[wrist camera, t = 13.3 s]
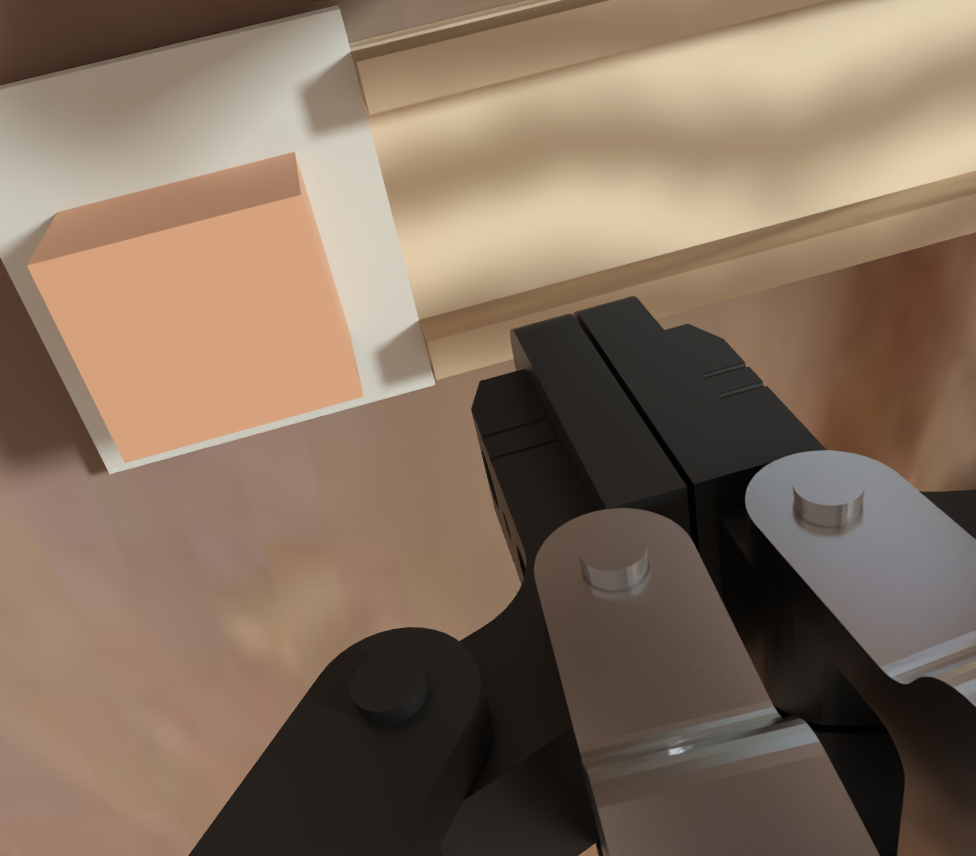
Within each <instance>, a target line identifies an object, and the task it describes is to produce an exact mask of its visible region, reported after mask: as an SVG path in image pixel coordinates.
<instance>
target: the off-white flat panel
mask: <svg viewBox="0 0 976 856" xmlns="http://www.w3.org/2000/svg"><path fill="white" fill-rule="evenodd" d="M291 152H295V154H296V157H297V161H298V164H299V167H300V170H301V174H302V177H303V180H304V184H305V187H306V190H307V193H308V197H309V200H310V203H311V206H312V210H313V213H314V216H315V219H316V223H317V226H318V229H319V233H320V236H321V239H322V242H323V246H324V249H325V252H326V255H327V259H328V262H329V265H330V268H331V272H332V275H333V278H334V282H335V285H336V288H337V291H338V295H339V298H340V301H341V304H342V308H343V311H344V314H345V318H346V321H347V324H348V327H349V331H350V334H351V339H352V343H353V348H354V353H355V358H356V362H357V367H358V372H359V377H360V381H361V386H362V391H363V396H364V397H361V398H357V399H354V400H350V401H346V402H343V403H339V404H336V405H332V406H328V407H325V408H321V409H318V410H314V411H311V412H307V413H303V414H300V415H296V416H293V417H289V418H285V419H282V420H278V421H275V422H271V423H267V424H264V425H260V426H257V427H253V428H249V429H246V430H242V431H239V432H235V433H231V434H228V435H224V436H221V437H217V438H213V439H210V440H206V441H203V442H199V443H195V444H192V445H188V446H185V447H181V448H177V449H174V450H170V451H167V452H163V453H159V454H156V455H152V456H149V457H145V458H141V459H138V460H134V461H131V462H127V463H124V461H123V458H122V456H121V454H120V452H119V450H118V448H117V446H116V444H115V442H114V440H113V438H112V436H111V434H110V432H109V430H108V428H107V426H106V424H105V422H104V420H103V418H102V416H101V414H100V412H99V410H98V408H97V406H96V404H95V402H94V400H93V398H92V396H91V394H90V392H89V390H88V388H87V386H86V384H85V382H84V380H83V378H82V376H81V374H80V372H79V370H78V368H77V366H76V364H75V362H74V360H73V358H72V356H71V354H70V352H69V350H68V348H67V346H66V344H65V342H64V340H63V338H62V336H61V334H60V332H59V330H58V328H57V326H56V323H55V321H54V319H53V317H52V315H51V313H50V311H49V309H48V307H47V305H46V303H45V301H44V299H43V297H42V295H41V293H40V291H39V289H38V287H37V285H36V283H35V281H34V279H33V277H32V275H31V273H30V271H29V269H28V267H27V265H28V263H29V261H30V259H31V258H32V256H33V254H34V252H35V251H36V249H37V247H38V245H39V244H40V242H41V240H42V238H43V237H44V235H45V233H46V232H47V230H48V228H49V226H50V225H51V223H52V221H53V219H54V218H55V216H56V214H57V212H60V211H64V210H67V209H71V208H75V207H79V206H83V205H87V204H91V203H95V202H99V201H103V200H107V199H111V198H115V197H118V196H122V195H126V194H130V193H134V192H138V191H142V190H146V189H150V188H154V187H158V186H162V185H165V184H169V183H173V182H177V181H181V180H185V179H189V178H193V177H197V176H201V175H205V174H209V173H213V172H216V171H220V170H224V169H228V168H232V167H236V166H240V165H244V164H248V163H252V162H256V161H260V160H264V159H267V158H271V157H275V156H279V155H283V154H287V153H291ZM0 258H1V260H2V262H3V264H4V266H5V268H6V270H7V272H8V274H9V276H10V278H11V280H12V282H13V284H14V286H15V288H16V290H17V292H18V294H19V296H20V298H21V300H22V302H23V303H24V305H25V307H26V309H27V311H28V313H29V315H30V317H31V319H32V321H33V323H34V325H35V327H36V329H37V331H38V333H39V335H40V337H41V339H42V341H43V343H44V345H45V347H46V349H47V351H48V353H49V355H50V357H51V359H52V361H53V363H54V365H55V367H56V369H57V371H58V373H59V375H60V377H61V379H62V381H63V383H64V385H65V387H66V389H67V391H68V393H69V395H70V397H71V399H72V401H73V402H74V404H75V406H76V408H77V410H78V412H79V414H80V416H81V418H82V420H83V422H84V424H85V426H86V428H87V430H88V432H89V434H90V436H91V438H92V440H93V442H94V444H95V446H96V448H97V450H98V452H99V454H100V456H101V458H102V460H103V462H104V464H105V466H106V468H107V470H108V472H109V474H112V473H116V472H119V471H123V470H127V469H130V468H134V467H138V466H141V465H145V464H149V463H152V462H156V461H160V460H163V459H167V458H170V457H174V456H178V455H181V454H185V453H189V452H192V451H196V450H200V449H203V448H207V447H211V446H214V445H218V444H221V443H225V442H229V441H232V440H236V439H240V438H243V437H247V436H251V435H254V434H258V433H262V432H265V431H269V430H272V429H276V428H280V427H283V426H287V425H291V424H294V423H298V422H302V421H305V420H309V419H312V418H316V417H320V416H323V415H327V414H331V413H334V412H338V411H342V410H345V409H349V408H353V407H356V406H360V405H363V404H367V403H371V402H374V401H378V400H382V399H385V398H389V397H393V396H396V395H400V394H404V393H407V392H411V391H414V390H418V389H422V388H425V387H429V386H433V385H435V381H434V377H433V374H432V370H431V366H430V362H429V358H428V354H427V350H426V346H425V342H424V338H423V334H422V330H421V326H420V322H419V318H418V314H417V310H416V307H415V303H414V299H413V295H412V291H411V287H410V283H409V279H408V275H407V271H406V267H405V263H404V259H403V255H402V251H401V247H400V243H399V240H398V236H397V232H396V228H395V224H394V220H393V216H392V212H391V208H390V204H389V200H388V196H387V192H386V188H385V184H384V180H383V176H382V173H381V169H380V165H379V161H378V157H377V153H376V149H375V145H374V141H373V137H372V133H371V129H370V125H369V121H368V117H367V113H366V109H365V106H364V102H363V98H362V94H361V90H360V86H359V82H358V78H357V74H356V70H355V66H354V62H353V58H352V54H351V50H350V46H349V43H348V39H347V35H346V31H345V27H344V23H343V19H342V15H341V11H340V8H339V7H338V5H335V6H331V7H327V8H323V9H319V10H314V11H310V12H306V13H302V14H298V15H293V16H289V17H285V18H281V19H277V20H272V21H268V22H264V23H260V24H256V25H251V26H247V27H243V28H239V29H235V30H231V31H226V32H222V33H218V34H214V35H210V36H205V37H201V38H197V39H193V40H189V41H184V42H180V43H176V44H172V45H168V46H163V47H159V48H155V49H151V50H147V51H142V52H138V53H134V54H130V55H126V56H121V57H117V58H113V59H109V60H105V61H100V62H96V63H92V64H88V65H84V66H79V67H75V68H71V69H67V70H63V71H58V72H54V73H50V74H46V75H42V76H37V77H33V78H29V79H25V80H21V81H16V82H12V83H8V84H4V85H0Z"/></svg>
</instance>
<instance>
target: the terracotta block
mask: <svg viewBox="0 0 976 856" xmlns="http://www.w3.org/2000/svg"><path fill="white" fill-rule="evenodd" d="M27 267H28V269H29V271H30V273H31V275H32V277H33V279H34V281H35V283H36V285H37V287H38V289H39V291H40V293H41V295H42V297H43V299H44V301H45V303H46V305H47V307H48V309H49V311H50V313H51V315H52V317H53V319H54V321H55V323H56V326H57V328H58V330H59V332H60V334H61V336H62V338H63V340H64V342H65V344H66V346H67V348H68V350H69V352H70V354H71V356H72V358H73V360H74V362H75V364H76V366H77V368H78V370H79V372H80V374H81V376H82V378H83V380H84V382H85V384H86V386H87V388H88V390H89V392H90V394H91V396H92V398H93V400H94V402H95V404H96V406H97V408H98V410H99V412H100V414H101V416H102V418H103V420H104V422H105V424H106V426H107V428H108V430H109V432H110V434H111V436H112V438H113V440H114V442H115V444H116V446H117V448H118V450H119V452H120V454H121V456H122V458H123V461H124V463H127V462H131V461H134V460H138V459H141V458H145V457H149V456H152V455H156V454H159V453H163V452H167V451H170V450H174V449H177V448H181V447H185V446H188V445H192V444H195V443H199V442H203V441H206V440H210V439H213V438H217V437H221V436H224V435H228V434H231V433H235V432H239V431H242V430H246V429H249V428H253V427H257V426H260V425H264V424H267V423H271V422H275V421H278V420H282V419H285V418H289V417H293V416H296V415H300V414H303V413H307V412H311V411H314V410H318V409H321V408H325V407H328V406H332V405H336V404H339V403H343V402H346V401H350V400H354V399H357V398H361V397H364V396H363V391H362V386H361V381H360V377H359V372H358V367H357V362H356V358H355V353H354V348H353V343H352V339H351V334H350V331H349V327H348V324H347V321H346V318H345V314H344V311H343V308H342V304H341V301H340V298H339V295H338V291H337V288H336V285H335V282H334V278H333V275H332V272H331V268H330V265H329V262H328V259H327V255H326V252H325V249H324V246H323V242H322V239H321V236H320V233H319V229H318V226H317V223H316V219H315V216H314V213H313V210H312V206H311V203H310V200H309V197H308V193H307V190H306V187H305V184H304V180H303V177H302V174H301V170H300V167H299V164H298V161H297V157H296V154H295V152H291V153H287V154H283V155H279V156H275V157H271V158H267V159H264V160H260V161H256V162H252V163H248V164H244V165H240V166H236V167H232V168H228V169H224V170H220V171H216V172H213V173H209V174H205V175H201V176H197V177H193V178H189V179H185V180H181V181H177V182H173V183H169V184H165V185H162V186H158V187H154V188H150V189H146V190H142V191H138V192H134V193H130V194H126V195H122V196H118V197H115V198H111V199H107V200H103V201H99V202H95V203H91V204H87V205H83V206H79V207H75V208H71V209H67V210H64V211H60V212H57V214H56V216H55V218H54V219H53V221H52V223H51V225H50V226H49V228H48V230H47V232H46V233H45V235H44V237H43V238H42V240H41V242H40V244H39V245H38V247H37V249H36V251H35V252H34V254H33V256H32V258H31V259H30V261H29V263H28V265H27Z"/></svg>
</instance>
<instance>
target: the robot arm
mask: <svg viewBox="0 0 976 856" xmlns="http://www.w3.org/2000/svg"><path fill="white" fill-rule="evenodd" d="M510 339H511V346H512V352H513V357H514V362H515V367H516V371H515V372H511V373H508V374H504V375H501V376H497V377H493V378H490V379H486V380H482V381H480V382H479V386H478V389H477V392H476V395H475V398H474V402H473V405H472V408H471V411H472V415H473V419H474V423H475V428H476V432H477V436H478V440H479V445H480V449H481V453H482V457H483V461H484V466H485V470H486V474H487V478H488V483H489V487H490V491H491V495H492V499H493V504H494V508H495V511H496V514H497V517H498V520H499V523H500V525H501V528H502V531H503V534H504V537H505V539H506V541H507V545H508V548H509V551H510V553H511V556H512V559H513V562H514V563H515V567H516V570H517V573H518V576H519V579H520V581H521V584H522V585H521V588H520V590H519V591H518V593H517V595H516V596H515V598H514V599H513V601H512V602H511V603H510V604H509V605H508V607H507V608H506V609H505V610H504V611H503V612H502V613H501V614H499V615H498V616H497V617H496V618H495V619H494V620H492V621H491V622H489V623H488V624H486V625H485V626H484V627H482V628H481V629H479V630H477V631H476V632H474V633H472V634H471V635H469V636H467V637H466V638H464V639H462V640H461V641H458V640H457V639H455V638H453V637H451V636H450V635H448V634H446V633H443V632H440V631H437V630H433V629H427V628H414V627H407V628H398V629H392V630H388V631H384V632H380V633H377V634H375V635H372V636H369V637H367V638H365V639H363V640H361V641H359V642H357V643H355V644H353V645H352V646H350V647H349V648H347V649H346V650H345V651H343V652H342V653H340V654H339V655H338V656H337V657H336V658H335V659H334V660H333V661H332V662H330V663H329V665H328V666H327V667H326V668H325V669H324V670H323V672H322V673H321V674H320V675H319V677H318V678H317V679H316V681H315V682H314V684H313V685H312V686H311V688H310V689H309V690H308V692H307V693H306V695H305V696H304V697H303V699H302V700H301V701H300V703H299V704H298V706H297V707H296V708H295V710H294V711H293V712H292V714H291V715H290V717H289V718H288V719H287V721H286V722H285V724H284V725H283V726H282V728H281V729H280V730H279V732H278V733H277V735H276V736H275V737H274V739H273V740H272V741H271V743H270V744H269V746H268V747H267V748H266V750H265V751H264V752H263V754H262V755H261V757H260V758H259V759H258V761H257V762H256V763H255V765H254V766H253V768H252V769H251V770H250V772H249V773H248V774H247V776H246V777H245V779H244V780H243V781H242V783H241V784H240V785H239V787H238V788H237V790H236V791H235V792H234V794H233V795H232V796H231V798H230V799H229V801H228V802H227V803H226V805H225V806H224V807H223V809H222V810H221V812H220V813H219V814H218V816H217V817H216V818H215V820H214V821H213V823H212V824H211V825H210V827H209V828H208V829H207V831H206V832H205V834H204V835H203V836H202V838H201V839H200V840H199V842H198V843H197V845H196V846H195V847H194V849H193V850H192V851H191V853H190V854H189V856H578V855H580V854H581V853H582V852H584V851H585V850H586V849H588V848H589V847H591V846H592V845H593V844H595V847H596V851H597V855H598V856H976V490H965V491H946V492H922V491H918V490H917V489H916V488H914V487H913V486H912V485H911V484H910V483H909V482H907V481H906V480H905V479H904V478H903V477H902V476H900V475H899V474H898V473H897V472H895V471H894V470H892V469H891V468H890V467H888V466H886V465H884V464H882V463H880V462H878V461H876V460H873V459H871V458H868V457H865V456H862V455H858V454H854V453H848V452H841V451H827V450H826V449H825V448H824V447H823V446H822V445H821V443H820V442H819V441H818V440H817V439H816V438H815V437H814V436H813V435H812V434H811V433H810V432H809V431H808V429H807V428H806V427H805V426H804V425H803V424H802V423H801V422H800V421H799V420H798V419H797V418H796V417H795V415H794V414H793V413H792V412H791V411H790V410H789V409H788V408H787V407H786V406H785V405H784V404H783V403H782V401H781V400H780V399H779V398H778V397H777V396H776V395H775V394H774V393H773V392H772V391H771V390H770V389H769V388H768V386H766V387H764V385H763V381H762V380H761V379H760V378H759V377H758V376H757V375H756V374H755V372H754V371H753V370H752V369H751V368H750V367H746V365H745V362H744V361H743V360H742V358H741V357H740V356H739V355H738V354H737V353H736V352H735V351H734V350H733V349H732V348H731V347H730V346H729V344H728V343H727V342H726V341H725V340H724V339H722V338H720V337H718V336H715V335H713V334H711V333H708V332H706V331H704V330H701V329H699V328H697V327H694V326H692V325H690V324H685V325H682V326H678V327H674V328H671V329H667V330H664V329H663V328H662V327H661V326H660V324H659V323H658V322H657V321H656V320H655V318H654V317H653V316H652V315H651V314H650V312H649V311H648V310H647V309H646V308H645V306H644V305H643V304H642V303H641V302H640V300H639V299H638V298H637V297H635V296H631V297H627V298H623V299H620V300H616V301H612V302H609V303H605V304H601V305H598V306H594V307H590V308H587V309H583V310H579V311H575V312H574V313H573V315H572V314H571V313H569V314H565V315H562V316H558V317H554V318H550V319H547V320H543V321H539V322H536V323H532V324H528V325H525V326H521V327H517V328H514V329H511V330H510Z"/></svg>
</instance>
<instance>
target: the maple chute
mask: <svg viewBox="0 0 976 856" xmlns="http://www.w3.org/2000/svg"><path fill="white" fill-rule="evenodd" d="M349 46H350V50H351V54H352V58H353V62H354V66H355V70H356V74H357V78H358V82H359V86H360V90H361V94H362V98H363V102H364V106H365V109H366V113H367V117H368V121H369V125H370V129H371V133H372V137H373V141H374V145H375V149H376V153H377V157H378V161H379V165H380V169H381V173H382V176H383V180H384V184H385V188H386V192H387V196H388V200H389V204H390V208H391V212H392V216H393V220H394V224H395V228H396V232H397V236H398V240H399V243H400V247H401V251H402V255H403V259H404V263H405V267H406V271H407V275H408V279H409V283H410V287H411V291H412V295H413V299H414V303H415V307H416V310H417V314H418V318H419V322H420V326H421V330H422V334H423V338H424V342H425V346H426V350H427V354H428V358H429V360H430V363H431V366H432V368H433V371H434V374H435V377H436V380H438V379H442V378H445V377H449V376H453V375H456V374H460V373H464V372H467V371H471V370H475V369H478V368H482V367H485V366H489V365H493V364H496V363H500V362H504V361H507V360H511V359H514V357H513V352H512V346H511V339H510V330H511V329H514V328H517V327H521V326H525V325H528V324H532V323H536V322H539V321H543V320H547V319H550V318H554V317H558V316H562V315H565V314H569V313H571V314H572V315H573V313H574V312H575V311H579V310H583V309H587V308H590V307H594V306H598V305H601V304H605V303H609V302H612V301H616V300H620V299H623V298H627V297H631V296H635V297H637V298H638V299H639V300H640V302H641V303H642V304H643V305H644V306H645V308H646V309H647V310H648V311H649V312H650V314H651V315H652V316H653V317H654V318H655V320H657V319H661V318H664V317H668V316H671V315H675V314H679V313H682V312H686V311H690V310H693V309H697V308H701V307H704V306H708V305H712V304H715V303H719V302H723V301H726V300H730V299H733V298H737V297H741V296H744V295H748V294H752V293H755V292H759V291H763V290H766V289H770V288H774V287H777V286H781V285H785V284H788V283H792V282H795V281H799V280H803V279H806V278H810V277H814V276H817V275H821V274H825V273H828V272H832V271H836V270H839V269H843V268H847V267H850V266H854V265H858V264H861V263H865V262H868V261H872V260H876V259H879V258H883V257H887V256H890V255H894V254H898V253H901V252H905V251H909V250H912V249H916V248H920V247H923V246H927V245H930V244H934V243H938V242H941V241H945V240H949V239H952V238H956V237H960V236H963V235H967V234H971V233H974V232H976V0H525V1H521V2H517V3H513V4H509V5H505V6H501V7H497V8H492V9H488V10H484V11H480V12H476V13H472V14H468V15H463V16H459V17H455V18H451V19H447V20H443V21H439V22H435V23H430V24H426V25H422V26H418V27H414V28H410V29H406V30H401V31H397V32H393V33H389V34H385V35H381V36H377V37H373V38H368V39H364V40H360V41H356V42H352V43H349Z"/></svg>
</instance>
